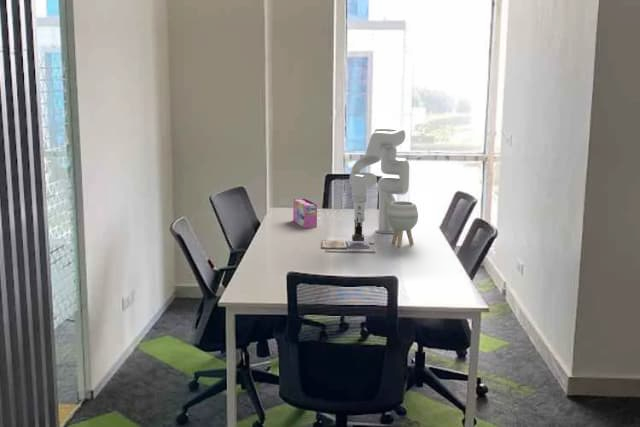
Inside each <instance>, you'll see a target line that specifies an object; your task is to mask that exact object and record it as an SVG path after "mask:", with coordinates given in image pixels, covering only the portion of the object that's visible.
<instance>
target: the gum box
mask: <svg viewBox="0 0 640 427" xmlns="http://www.w3.org/2000/svg"><path fill="white" fill-rule="evenodd" d="M292 207H293V211H292V212H293V214H292V217H293V218H292V219H293V222H294V223H296V224H298V225H299V226H301V227H302V228H303V229H309V228H310V227H313V228H317V227H318V225H317V224H318V205H317V204H316V203H314V202H312V201H310V200H308V199H306V198H302V199H293V206H292Z"/></svg>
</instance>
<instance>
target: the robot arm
mask: <svg viewBox="0 0 640 427" xmlns="http://www.w3.org/2000/svg"><path fill="white" fill-rule="evenodd" d="M405 131H406V130H404V129H403V128H401V127H384V126H382V127H377V128H376V129H375V130H374V132H373V133H372V134H371V136H370V138H369V141H368V145H367V148H366V151H365V154H364V155H363V156H362V157H360V158H359V159H358V160H356V162H355V163H354V164H353V166H352V169H351V172H350V174H349V183H350V185H351V188H352V189H351V202H353V213H354V214H353V215H354V216H353V217H354V219H355V221H356V234H363V222H364V221H365V215H366V214H365V209H366V208H365V203H366V202H367V195H368V194H367V190H368V188H369V189H370V188H371V189H372V188H373V187H375V185H376V184H377V189H378V190H377V191H378V227H377V228H375V232H376V233H379V234H387V235H389V234H394V229H393V228H392V227H391V226H390V225H389V223H388V221H387V212H388V208H389V206H390V204H391V203H392V202H396V198H395V196H394V195H401V196H403V195H406V194H407V193H408V192H409V185H410V162H409V161H408V159H406V158H401V157H400V158H399V157H398V156H397V153H398V152H397V147H399V146H400V145H402V144H403V143H404V142H405V139H406V133H405ZM379 162H380V170H381V173H382V174H383V175H389V176H382V177H380V178H379V179H378V177H377V176H376V175H375V173H369V172H361V171H362V169H365V168H367V167H369V166H370V165H374V164H377V163H379ZM394 176H396V177H394ZM397 176H398V177H397ZM357 220H358V221H357ZM362 220H363V222H362ZM357 222H358V223H357Z"/></svg>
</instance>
